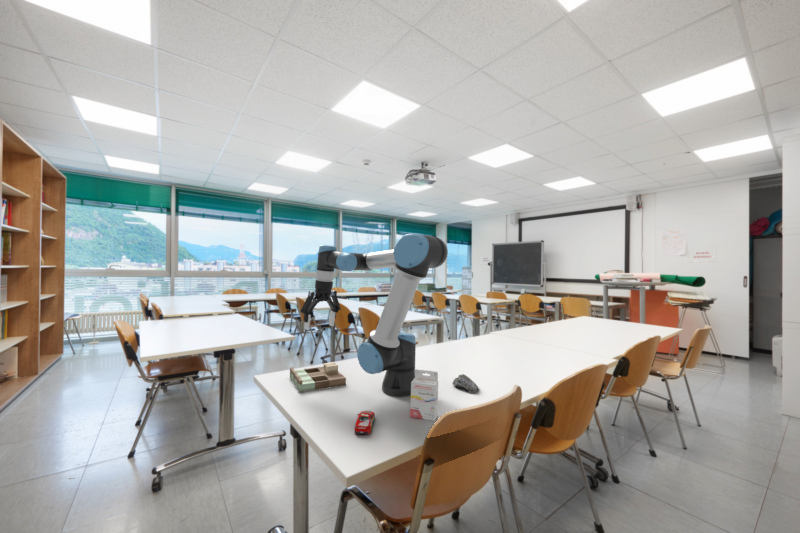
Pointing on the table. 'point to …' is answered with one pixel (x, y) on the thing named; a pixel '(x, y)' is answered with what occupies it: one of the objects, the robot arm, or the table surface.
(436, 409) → the ink cartridge box
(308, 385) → the multicoloured piece
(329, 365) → the birch block
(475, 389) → the fossilized seashell
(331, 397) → the table surface
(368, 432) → the race car
